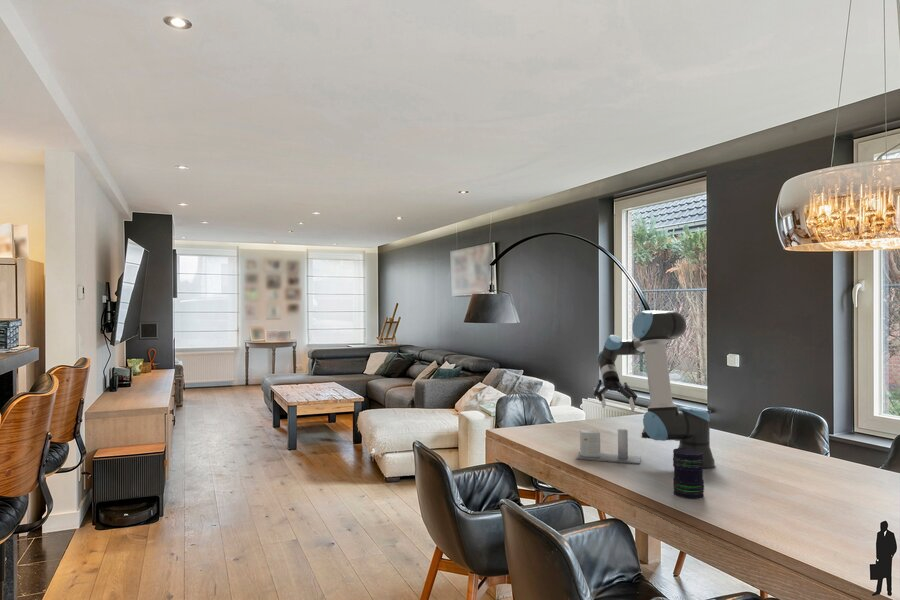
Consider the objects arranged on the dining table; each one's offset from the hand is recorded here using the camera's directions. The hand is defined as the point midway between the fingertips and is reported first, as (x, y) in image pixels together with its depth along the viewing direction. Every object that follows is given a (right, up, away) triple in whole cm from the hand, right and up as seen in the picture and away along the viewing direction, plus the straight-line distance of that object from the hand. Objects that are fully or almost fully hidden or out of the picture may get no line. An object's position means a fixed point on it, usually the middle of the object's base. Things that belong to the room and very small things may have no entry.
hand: (618, 407), depth 264 cm
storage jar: (+5, -19, -64) cm, 67 cm away
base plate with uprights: (-9, -19, -14) cm, 26 cm away
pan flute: (+36, -21, +35) cm, 55 cm away
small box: (-16, -19, -12) cm, 27 cm away
